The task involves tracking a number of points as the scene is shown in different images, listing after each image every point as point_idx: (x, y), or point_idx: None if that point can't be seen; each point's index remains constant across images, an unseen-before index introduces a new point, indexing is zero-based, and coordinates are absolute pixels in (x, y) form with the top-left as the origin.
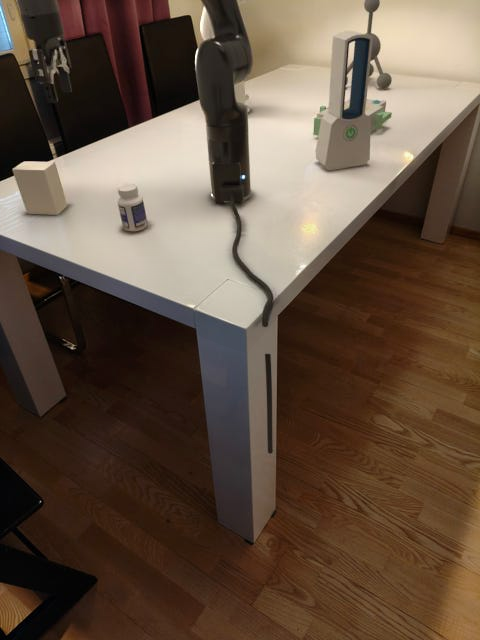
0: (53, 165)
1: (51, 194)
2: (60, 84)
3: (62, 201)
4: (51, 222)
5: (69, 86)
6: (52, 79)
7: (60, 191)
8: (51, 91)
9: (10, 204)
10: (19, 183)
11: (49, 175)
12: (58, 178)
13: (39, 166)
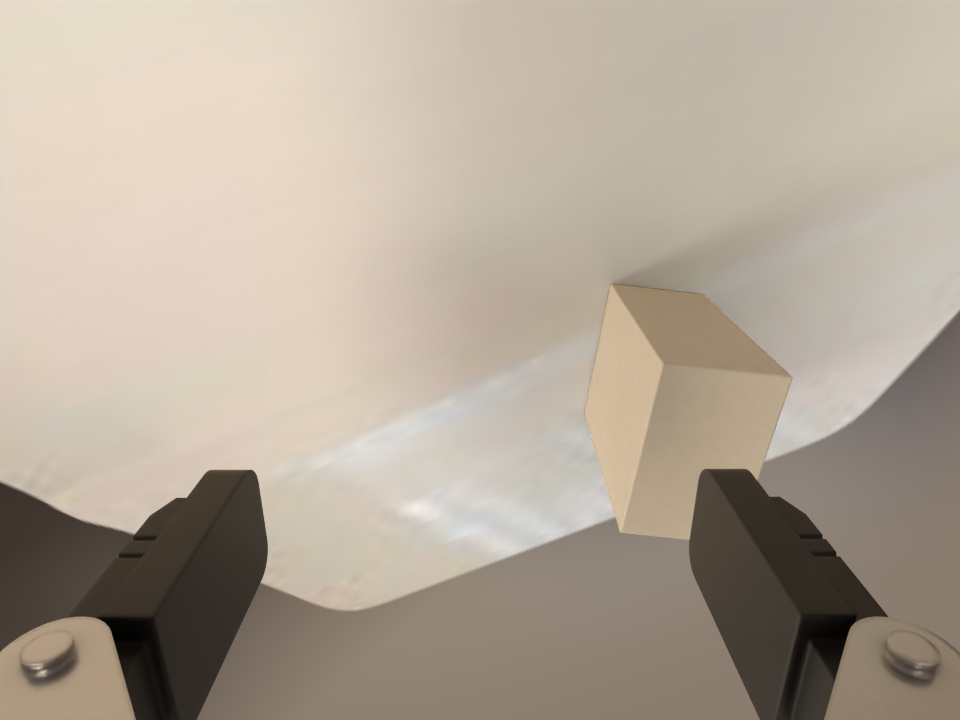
0: (686, 360)
1: (736, 326)
2: (235, 625)
3: (648, 297)
4: (771, 295)
5: (228, 507)
6: (927, 661)
7: (653, 310)
8: (842, 571)
9: (569, 517)
10: None
11: (740, 355)
12: (653, 329)
13: (723, 424)
